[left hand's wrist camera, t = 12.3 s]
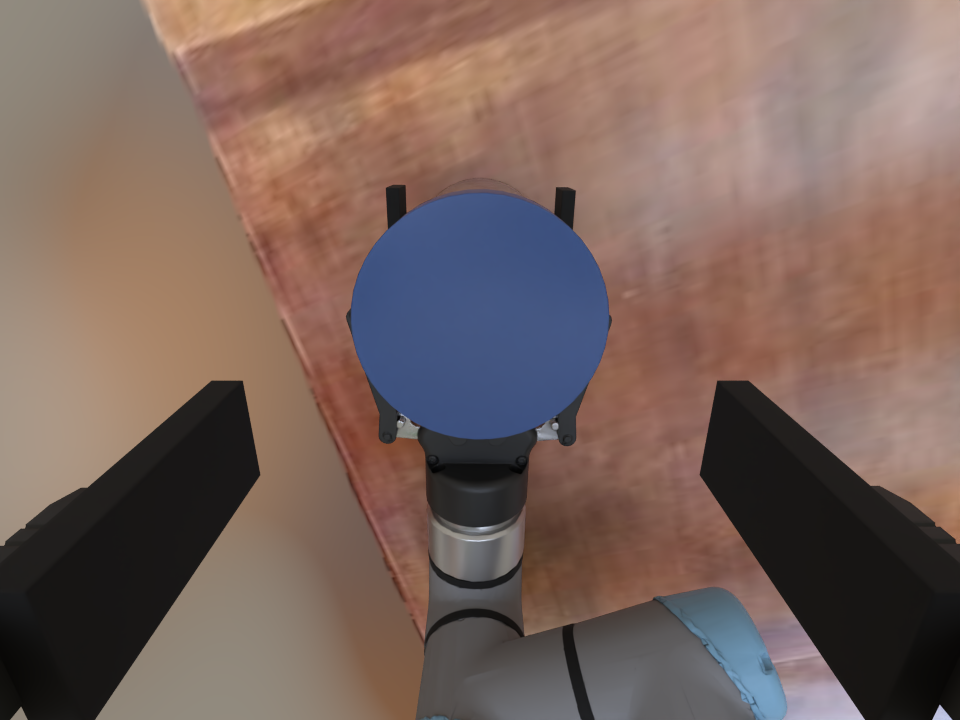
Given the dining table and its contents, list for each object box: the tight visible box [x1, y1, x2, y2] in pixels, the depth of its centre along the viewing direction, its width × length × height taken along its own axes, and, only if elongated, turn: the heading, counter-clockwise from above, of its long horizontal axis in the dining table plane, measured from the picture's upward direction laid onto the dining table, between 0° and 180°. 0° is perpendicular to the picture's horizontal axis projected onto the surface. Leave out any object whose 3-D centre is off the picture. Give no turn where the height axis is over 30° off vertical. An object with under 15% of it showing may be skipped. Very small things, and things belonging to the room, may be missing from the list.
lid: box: [351, 189, 609, 439], centre depth 22 cm, size 10×10×2 cm
